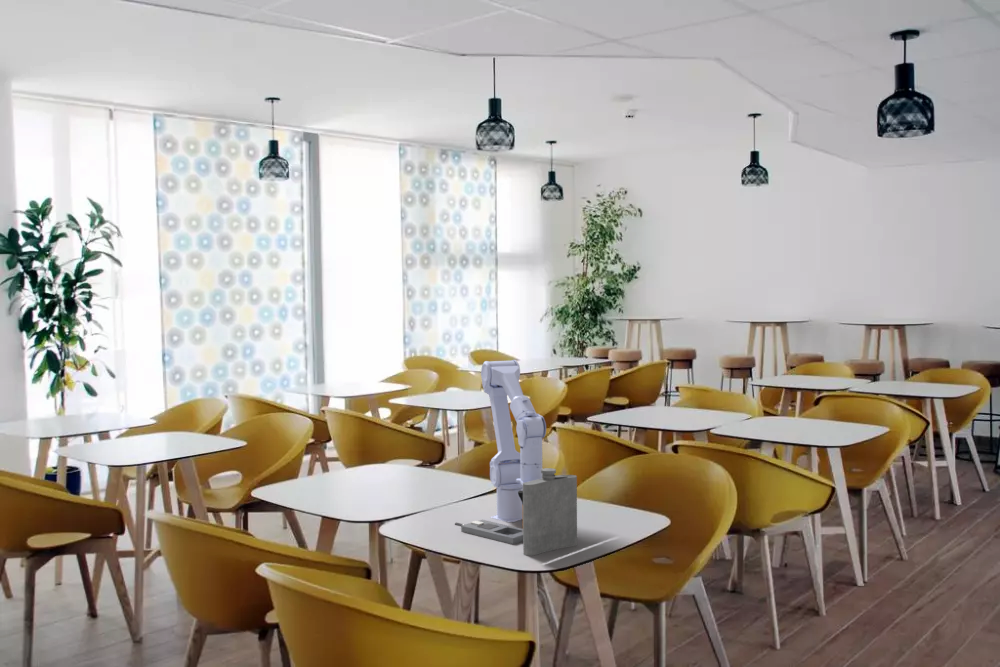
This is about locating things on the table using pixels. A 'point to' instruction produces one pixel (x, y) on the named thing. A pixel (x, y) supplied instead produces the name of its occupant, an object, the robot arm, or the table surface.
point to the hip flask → (549, 513)
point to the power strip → (493, 531)
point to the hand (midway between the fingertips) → (531, 514)
